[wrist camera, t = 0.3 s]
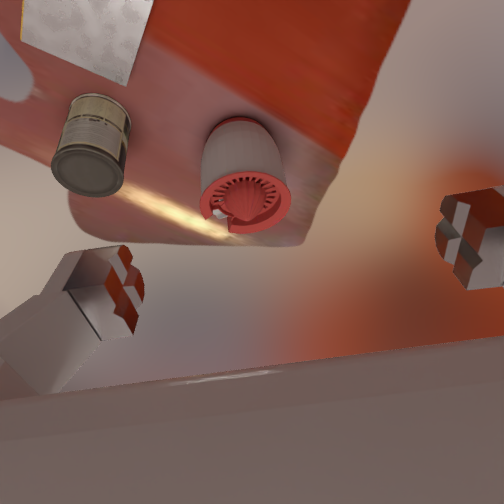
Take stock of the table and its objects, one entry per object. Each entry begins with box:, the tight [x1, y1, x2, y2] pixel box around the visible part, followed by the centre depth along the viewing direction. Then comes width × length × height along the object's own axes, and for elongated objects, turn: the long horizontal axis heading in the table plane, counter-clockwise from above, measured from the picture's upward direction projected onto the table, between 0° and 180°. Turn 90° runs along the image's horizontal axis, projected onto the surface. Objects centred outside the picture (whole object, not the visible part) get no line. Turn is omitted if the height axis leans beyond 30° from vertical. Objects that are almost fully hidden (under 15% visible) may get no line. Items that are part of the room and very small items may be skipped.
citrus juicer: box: [200, 117, 291, 234], centre depth 64 cm, size 16×17×20 cm
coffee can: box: [51, 93, 131, 197], centre depth 58 cm, size 10×10×14 cm
